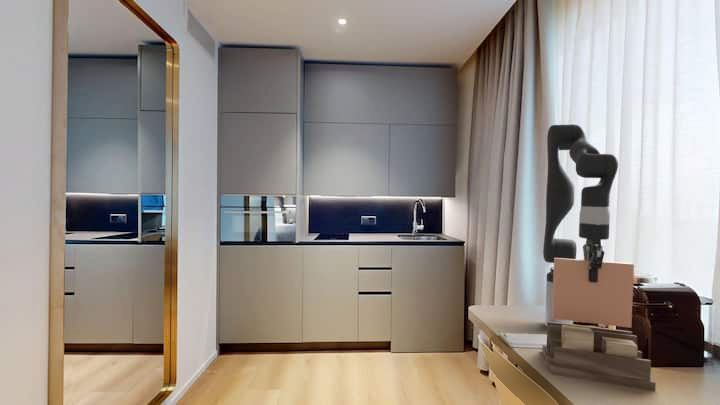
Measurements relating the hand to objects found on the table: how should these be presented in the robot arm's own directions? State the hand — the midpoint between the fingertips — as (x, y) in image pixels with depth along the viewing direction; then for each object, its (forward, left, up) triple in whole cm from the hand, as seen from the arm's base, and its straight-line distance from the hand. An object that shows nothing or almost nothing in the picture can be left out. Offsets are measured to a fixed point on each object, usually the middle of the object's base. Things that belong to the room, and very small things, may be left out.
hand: (591, 280), depth 111 cm
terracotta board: (0, 0, -12) cm, 12 cm away
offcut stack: (+9, 0, -22) cm, 24 cm away
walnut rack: (+4, 0, -24) cm, 24 cm away
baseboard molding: (-12, -8, -25) cm, 29 cm away
